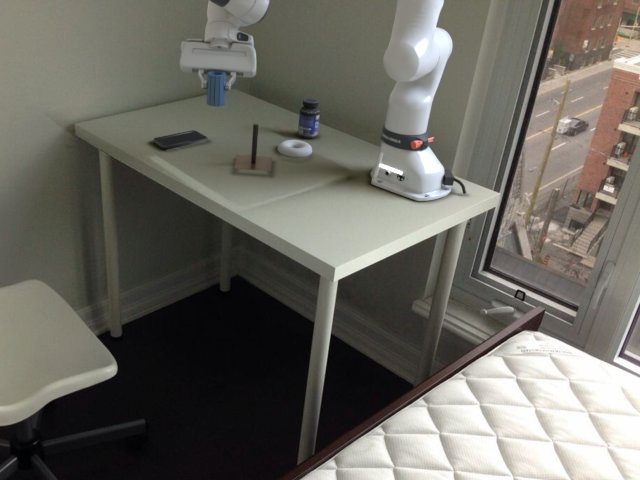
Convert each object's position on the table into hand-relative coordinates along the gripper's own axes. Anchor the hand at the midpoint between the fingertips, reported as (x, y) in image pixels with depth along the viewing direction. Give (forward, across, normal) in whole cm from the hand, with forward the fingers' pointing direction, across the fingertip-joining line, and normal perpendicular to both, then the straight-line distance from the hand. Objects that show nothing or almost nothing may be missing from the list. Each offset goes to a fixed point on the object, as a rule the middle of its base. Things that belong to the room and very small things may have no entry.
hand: (216, 88), depth 189 cm
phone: (+4, -11, +26) cm, 29 cm away
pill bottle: (-5, +26, +36) cm, 45 cm away
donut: (+7, +22, +24) cm, 33 cm away
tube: (+2, 0, +3) cm, 4 cm away
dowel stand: (+15, +11, +16) cm, 24 cm away
